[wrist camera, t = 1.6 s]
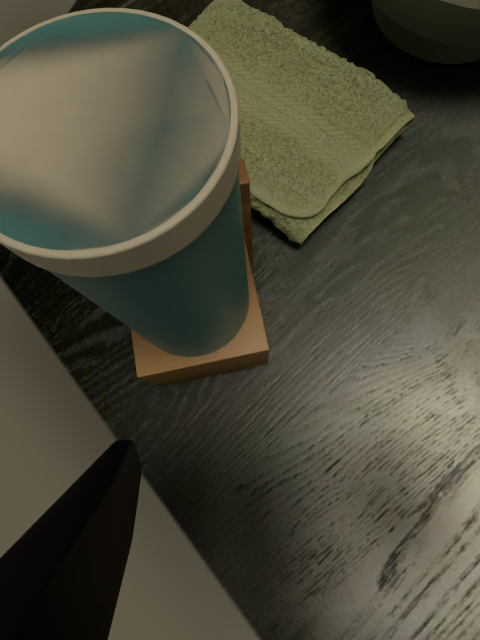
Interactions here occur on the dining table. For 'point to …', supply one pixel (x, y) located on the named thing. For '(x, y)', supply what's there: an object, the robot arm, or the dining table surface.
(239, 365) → the stepped wooden block
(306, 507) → the dining table surface
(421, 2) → the bowl
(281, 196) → the washcloth
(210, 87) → the teal cup
